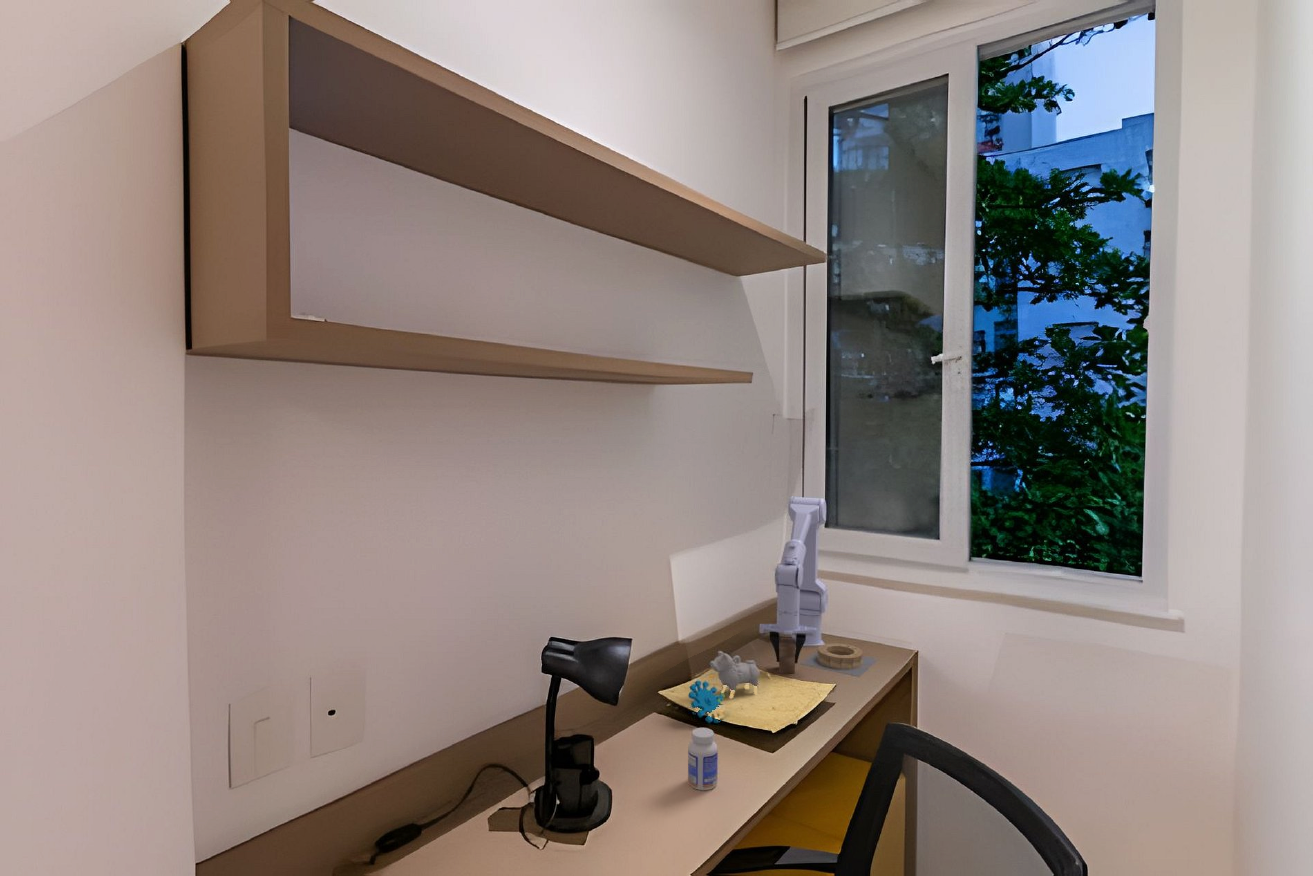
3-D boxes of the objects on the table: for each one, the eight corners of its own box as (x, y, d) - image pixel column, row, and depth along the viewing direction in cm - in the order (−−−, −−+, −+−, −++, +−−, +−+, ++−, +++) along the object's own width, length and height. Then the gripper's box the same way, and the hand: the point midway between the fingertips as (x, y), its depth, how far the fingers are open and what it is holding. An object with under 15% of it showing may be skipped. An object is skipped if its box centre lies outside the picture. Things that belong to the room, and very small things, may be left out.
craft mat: (822, 648, 210) (822, 647, 210) (878, 660, 201) (878, 658, 201) (800, 665, 196) (800, 663, 196) (859, 678, 188) (859, 676, 188)
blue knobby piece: (705, 724, 156) (685, 681, 162) (689, 737, 159) (669, 695, 164) (737, 716, 164) (717, 675, 170) (721, 729, 167) (701, 688, 172)
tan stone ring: (813, 654, 204) (813, 643, 204) (853, 653, 205) (854, 643, 205) (825, 669, 193) (825, 658, 192) (868, 668, 193) (868, 657, 193)
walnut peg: (778, 672, 190) (779, 642, 190) (779, 667, 194) (780, 637, 194) (794, 674, 189) (795, 643, 189) (794, 668, 193) (795, 638, 193)
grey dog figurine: (705, 694, 177) (705, 650, 176) (750, 686, 182) (751, 644, 181) (715, 702, 172) (716, 657, 171) (762, 694, 177) (763, 650, 177)
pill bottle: (719, 778, 137) (719, 727, 137) (715, 793, 132) (716, 740, 131) (690, 774, 138) (691, 724, 138) (685, 789, 133) (686, 737, 133)
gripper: (759, 612, 188) (758, 664, 189) (816, 616, 186) (815, 669, 186) (760, 605, 195) (759, 655, 196) (816, 608, 192) (815, 659, 193)
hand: (787, 661), depth 192 cm, fingers closed on walnut peg, 4 cm apart
